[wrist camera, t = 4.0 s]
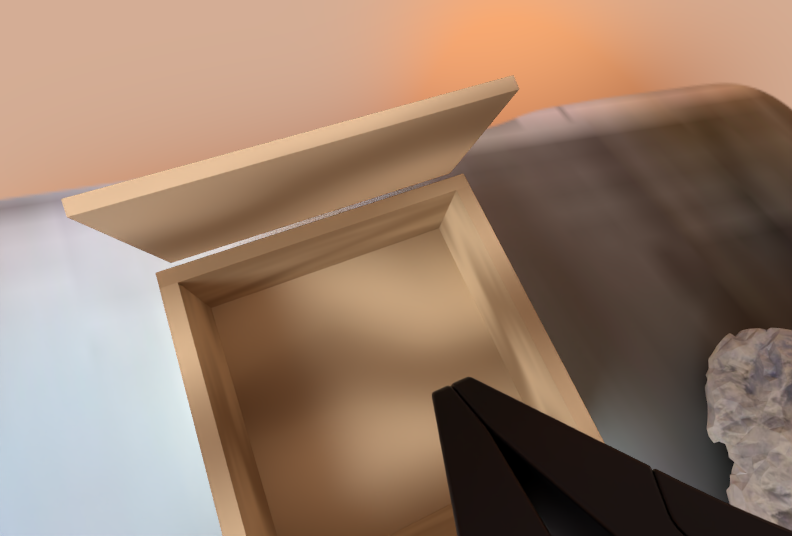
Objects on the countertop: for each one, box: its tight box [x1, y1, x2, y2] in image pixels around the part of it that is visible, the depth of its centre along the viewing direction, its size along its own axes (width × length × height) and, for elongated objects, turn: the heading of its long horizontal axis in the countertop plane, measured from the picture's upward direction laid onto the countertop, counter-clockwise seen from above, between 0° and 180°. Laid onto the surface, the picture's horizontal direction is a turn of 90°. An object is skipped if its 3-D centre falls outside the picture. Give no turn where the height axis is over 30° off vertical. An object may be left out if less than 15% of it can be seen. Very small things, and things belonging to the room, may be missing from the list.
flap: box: [61, 76, 519, 263], centre depth 13 cm, size 6×11×1 cm
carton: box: [156, 174, 604, 536], centre depth 16 cm, size 12×12×4 cm
